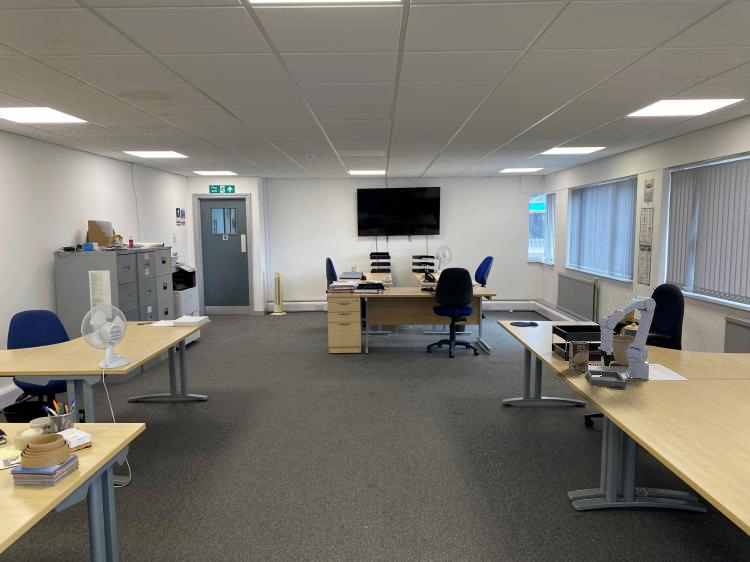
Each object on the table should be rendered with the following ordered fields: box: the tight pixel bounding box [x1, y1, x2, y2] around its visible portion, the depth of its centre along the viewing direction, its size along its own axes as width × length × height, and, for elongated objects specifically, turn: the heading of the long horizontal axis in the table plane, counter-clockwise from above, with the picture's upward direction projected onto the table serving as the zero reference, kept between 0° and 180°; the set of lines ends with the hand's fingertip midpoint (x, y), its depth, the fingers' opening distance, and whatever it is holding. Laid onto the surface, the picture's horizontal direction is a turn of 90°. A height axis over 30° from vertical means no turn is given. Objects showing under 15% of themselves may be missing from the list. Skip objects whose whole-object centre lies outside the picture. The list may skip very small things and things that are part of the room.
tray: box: [586, 369, 627, 388], centre depth 253 cm, size 16×18×3 cm
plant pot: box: [611, 334, 635, 366], centre depth 283 cm, size 15×15×16 cm
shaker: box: [600, 356, 611, 370], centre depth 252 cm, size 5×5×6 cm
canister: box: [622, 322, 640, 350], centre depth 317 cm, size 13×13×18 cm
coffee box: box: [568, 340, 590, 372], centre depth 273 cm, size 9×6×16 cm
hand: (605, 364), depth 252 cm, fingers closed on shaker, 4 cm apart
